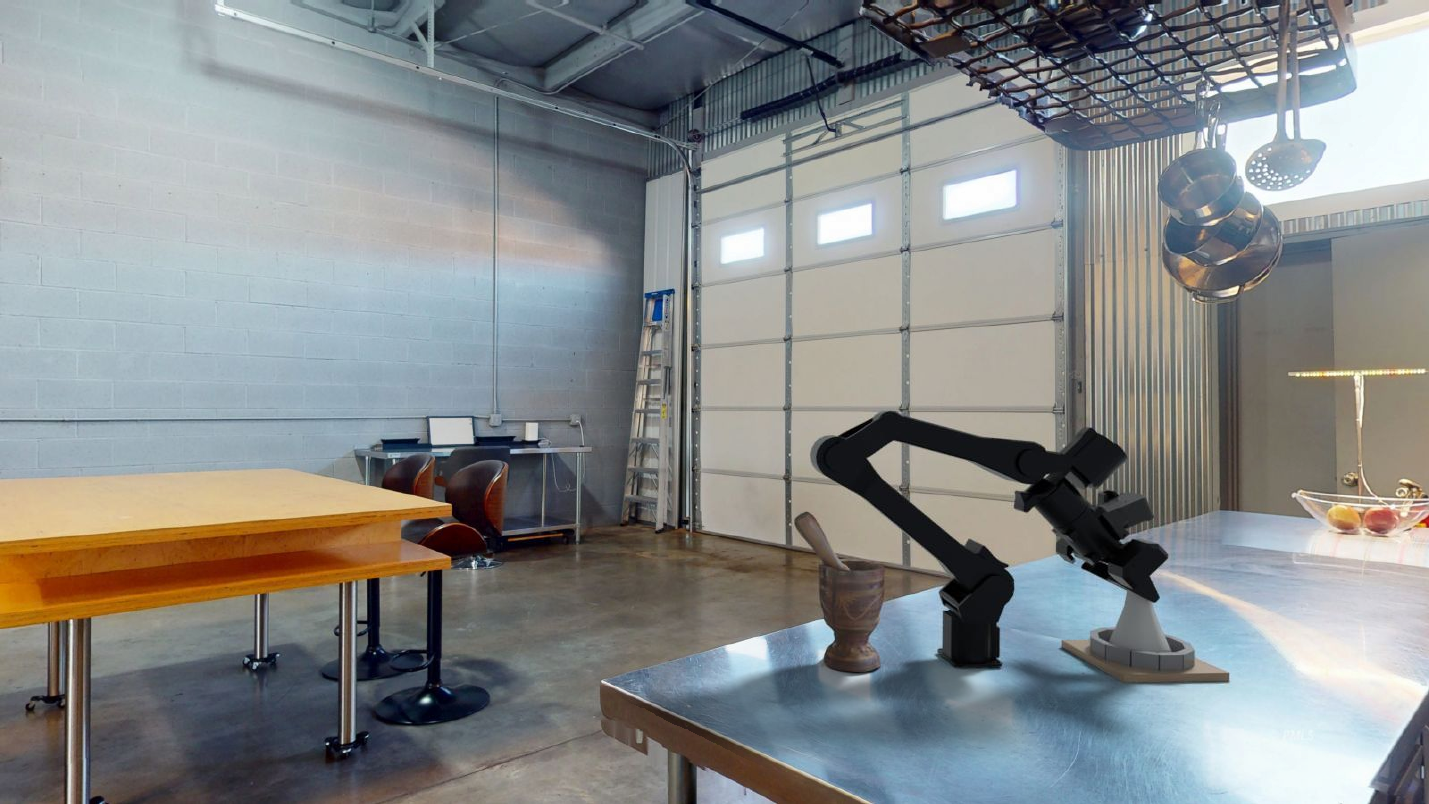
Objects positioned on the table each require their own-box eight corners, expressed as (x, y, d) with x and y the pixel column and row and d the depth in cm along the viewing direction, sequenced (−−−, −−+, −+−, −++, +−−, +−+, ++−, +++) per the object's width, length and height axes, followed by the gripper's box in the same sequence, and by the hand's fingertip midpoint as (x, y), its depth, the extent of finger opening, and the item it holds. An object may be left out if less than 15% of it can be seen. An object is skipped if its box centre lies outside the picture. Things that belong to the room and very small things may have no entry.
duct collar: (1124, 682, 92) (1124, 658, 92) (1061, 646, 106) (1061, 625, 106) (1229, 680, 93) (1229, 656, 93) (1153, 645, 107) (1153, 624, 107)
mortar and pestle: (817, 681, 90) (819, 518, 91) (785, 659, 98) (787, 509, 99) (896, 671, 95) (898, 515, 95) (859, 650, 103) (861, 507, 103)
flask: (1184, 659, 97) (1183, 582, 97) (1138, 663, 95) (1137, 585, 95) (1140, 642, 104) (1139, 571, 104) (1096, 646, 102) (1096, 574, 102)
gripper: (1153, 478, 90) (1242, 571, 90) (1078, 467, 109) (1151, 543, 109) (1088, 541, 90) (1176, 633, 90) (1023, 519, 109) (1097, 596, 109)
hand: (1149, 597), depth 99 cm, fingers open, 3 cm apart
